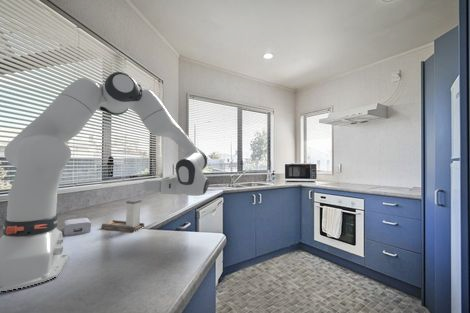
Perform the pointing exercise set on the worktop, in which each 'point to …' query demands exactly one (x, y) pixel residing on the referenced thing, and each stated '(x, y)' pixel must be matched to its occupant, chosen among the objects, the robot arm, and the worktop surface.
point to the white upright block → (133, 213)
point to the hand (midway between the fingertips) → (146, 182)
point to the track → (121, 226)
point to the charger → (77, 226)
